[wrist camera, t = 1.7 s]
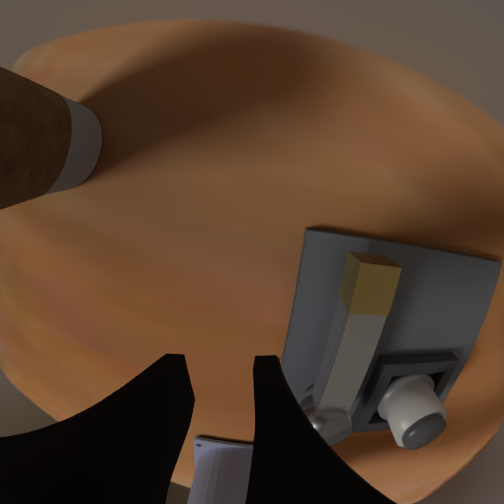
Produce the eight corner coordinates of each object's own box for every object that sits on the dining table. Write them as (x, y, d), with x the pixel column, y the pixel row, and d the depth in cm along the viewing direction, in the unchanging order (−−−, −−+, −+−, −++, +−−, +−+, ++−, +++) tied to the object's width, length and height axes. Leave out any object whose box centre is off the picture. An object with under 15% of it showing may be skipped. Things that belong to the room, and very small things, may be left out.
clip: (336, 420, 16) (342, 446, 14) (293, 420, 16) (294, 447, 14) (393, 257, 13) (415, 271, 11) (337, 249, 13) (351, 263, 11)
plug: (413, 408, 17) (434, 449, 12) (365, 412, 18) (381, 460, 13) (437, 364, 16) (467, 404, 11) (387, 367, 16) (413, 415, 11)
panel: (427, 417, 19) (434, 430, 17) (266, 424, 19) (265, 442, 17) (495, 260, 15) (511, 267, 13) (305, 227, 15) (310, 234, 13)
